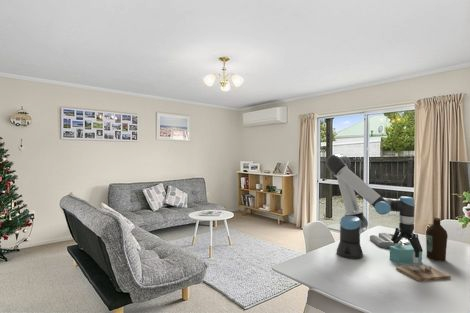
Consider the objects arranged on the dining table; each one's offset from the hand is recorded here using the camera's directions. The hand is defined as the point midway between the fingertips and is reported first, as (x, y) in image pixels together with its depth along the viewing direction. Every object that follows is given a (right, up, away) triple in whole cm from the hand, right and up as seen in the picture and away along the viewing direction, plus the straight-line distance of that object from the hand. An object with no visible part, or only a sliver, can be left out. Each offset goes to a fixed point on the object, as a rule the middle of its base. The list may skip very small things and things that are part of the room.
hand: (405, 258), depth 161 cm
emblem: (+9, -2, +30) cm, 31 cm away
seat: (-2, -2, -18) cm, 18 cm away
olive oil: (+21, -2, +5) cm, 22 cm away
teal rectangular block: (0, -2, 0) cm, 2 cm away
